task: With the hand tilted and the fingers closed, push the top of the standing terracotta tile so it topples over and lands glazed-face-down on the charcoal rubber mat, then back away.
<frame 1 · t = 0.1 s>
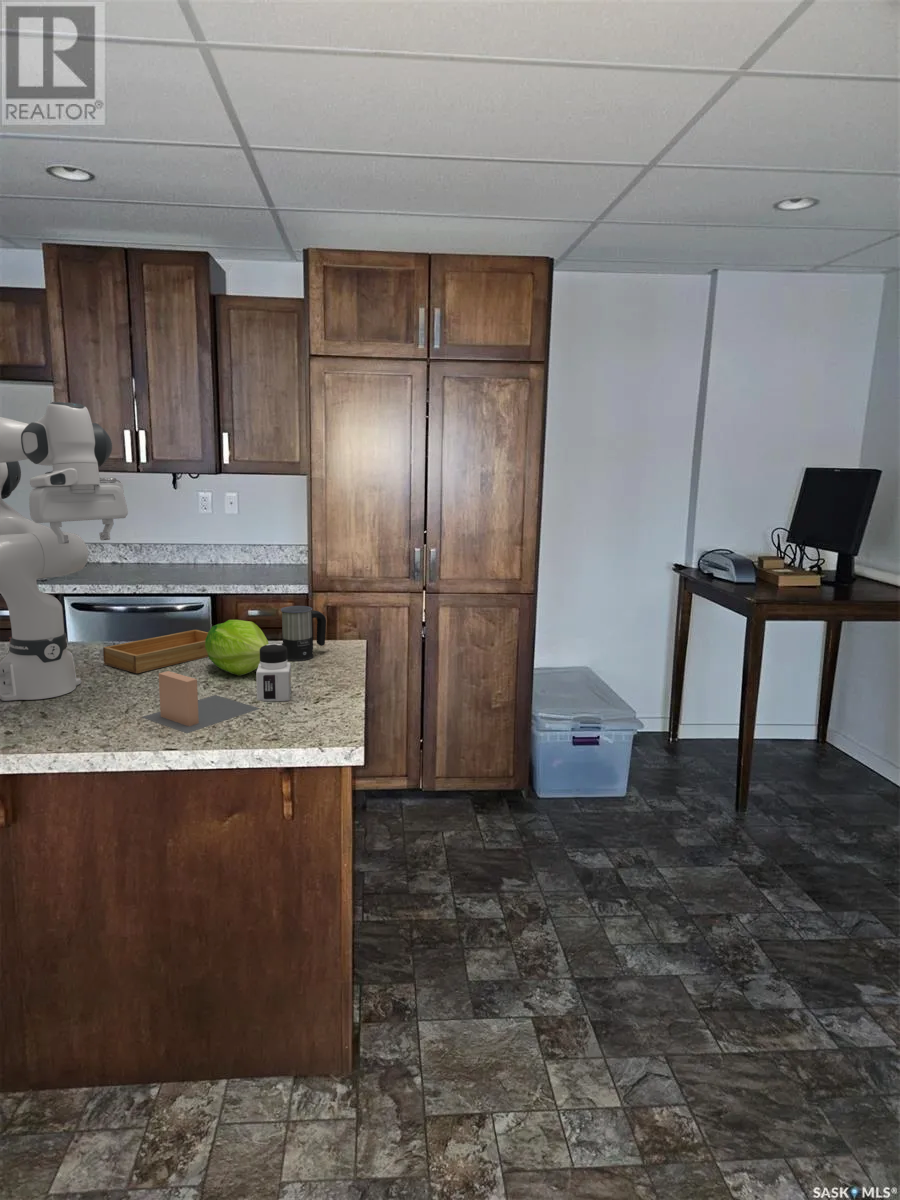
hand: (85, 541, 160), 39 cm above the countertop, fingers open, 8 cm apart
lettuce: (238, 672, 201), on the countertop
milk frother: (295, 654, 221), on the countertop
container: (274, 697, 181), on the countertop
mat: (202, 714, 167), on the countertop
tile: (179, 719, 162), resting on mat
tray: (168, 660, 212), on the countertop
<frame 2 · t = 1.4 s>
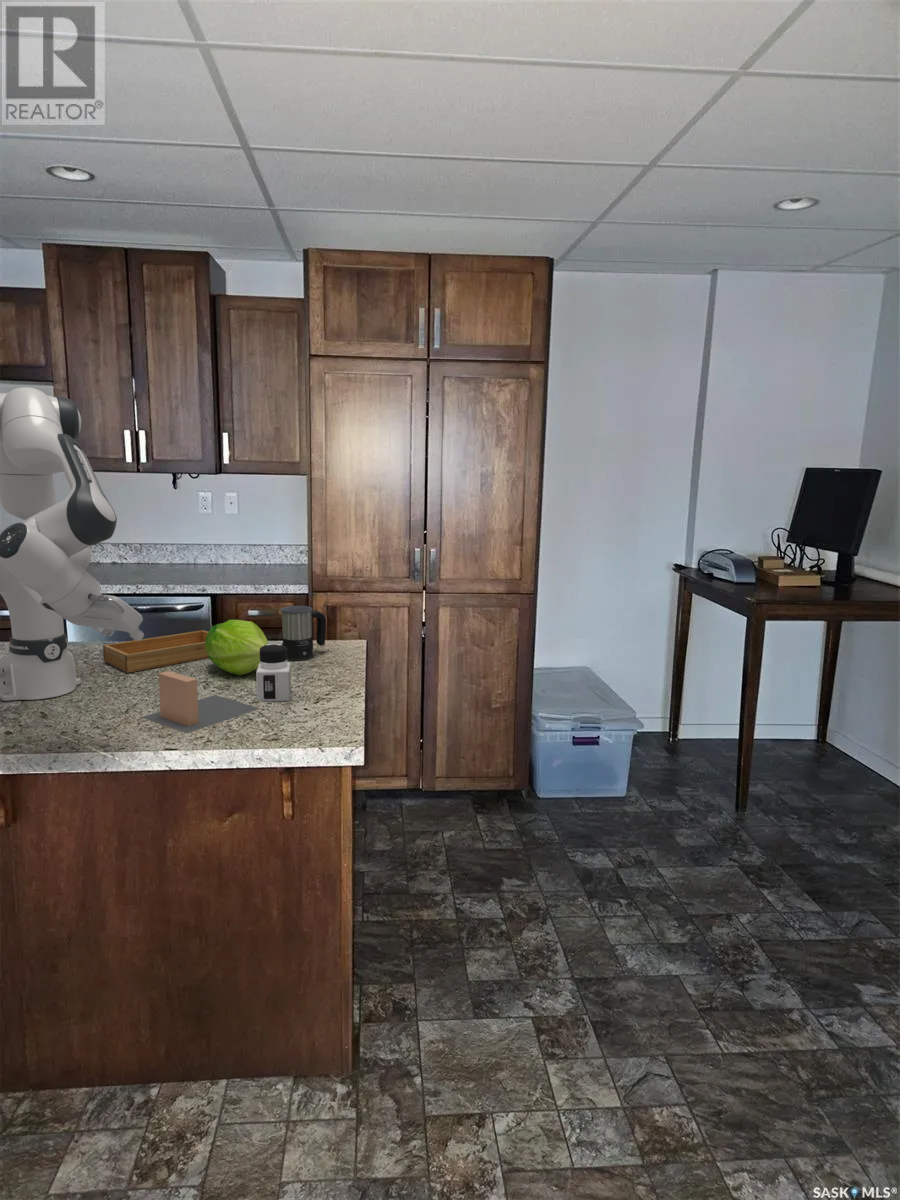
hand: (125, 635, 148), 22 cm above the countertop, fingers open, 8 cm apart
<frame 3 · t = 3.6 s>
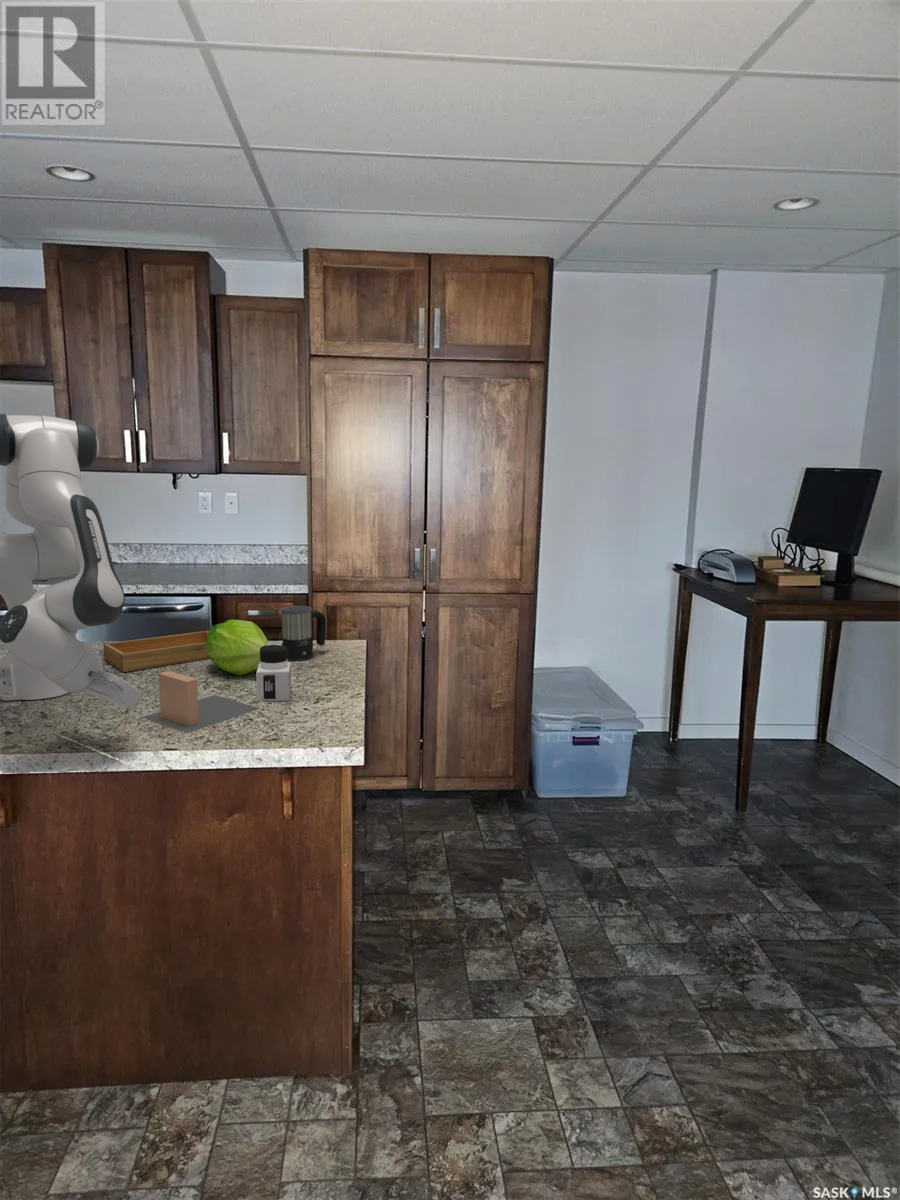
hand: (126, 704, 150), 7 cm above the countertop, fingers closed
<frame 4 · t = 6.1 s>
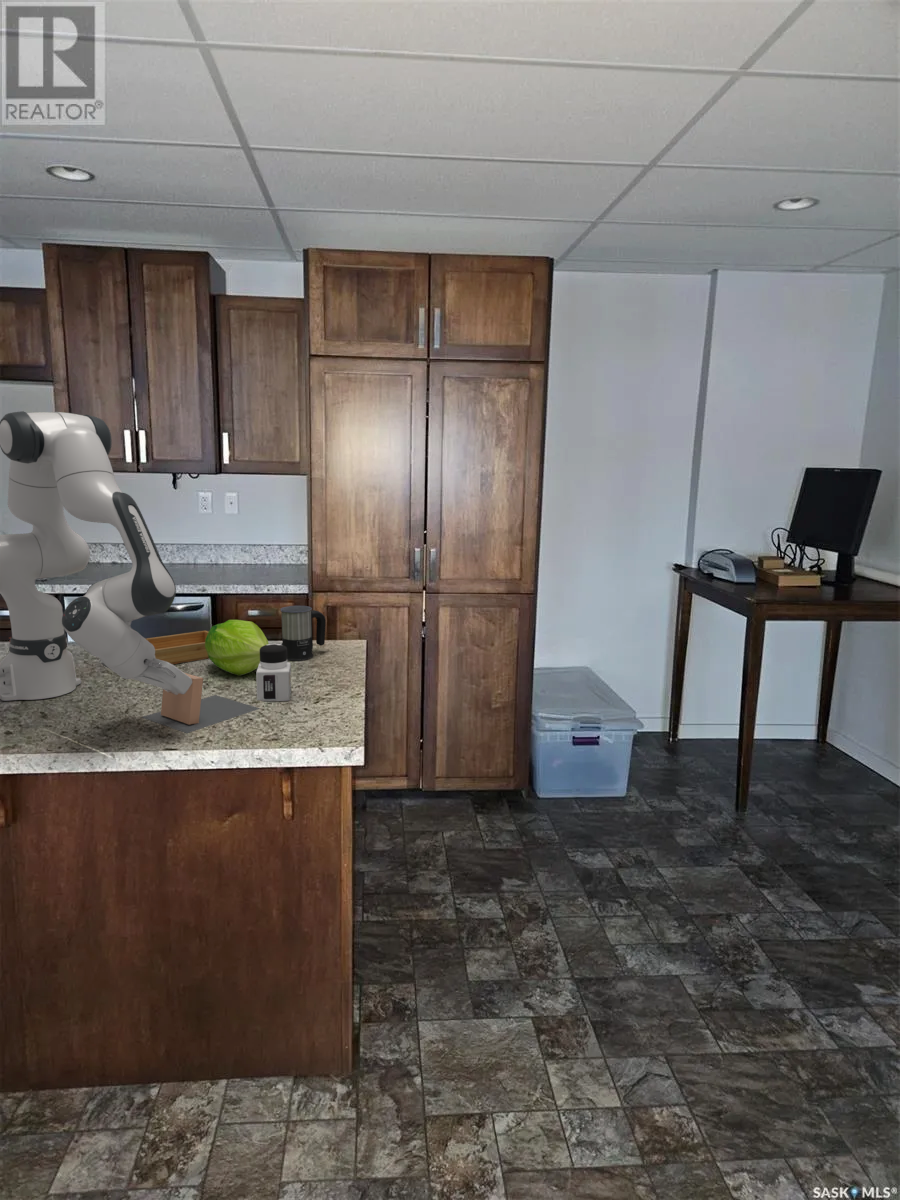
hand: (175, 690, 160), 7 cm above the countertop, fingers closed
tile: (179, 718, 162), point 1 cm above the countertop, tilted 9°, touching mat
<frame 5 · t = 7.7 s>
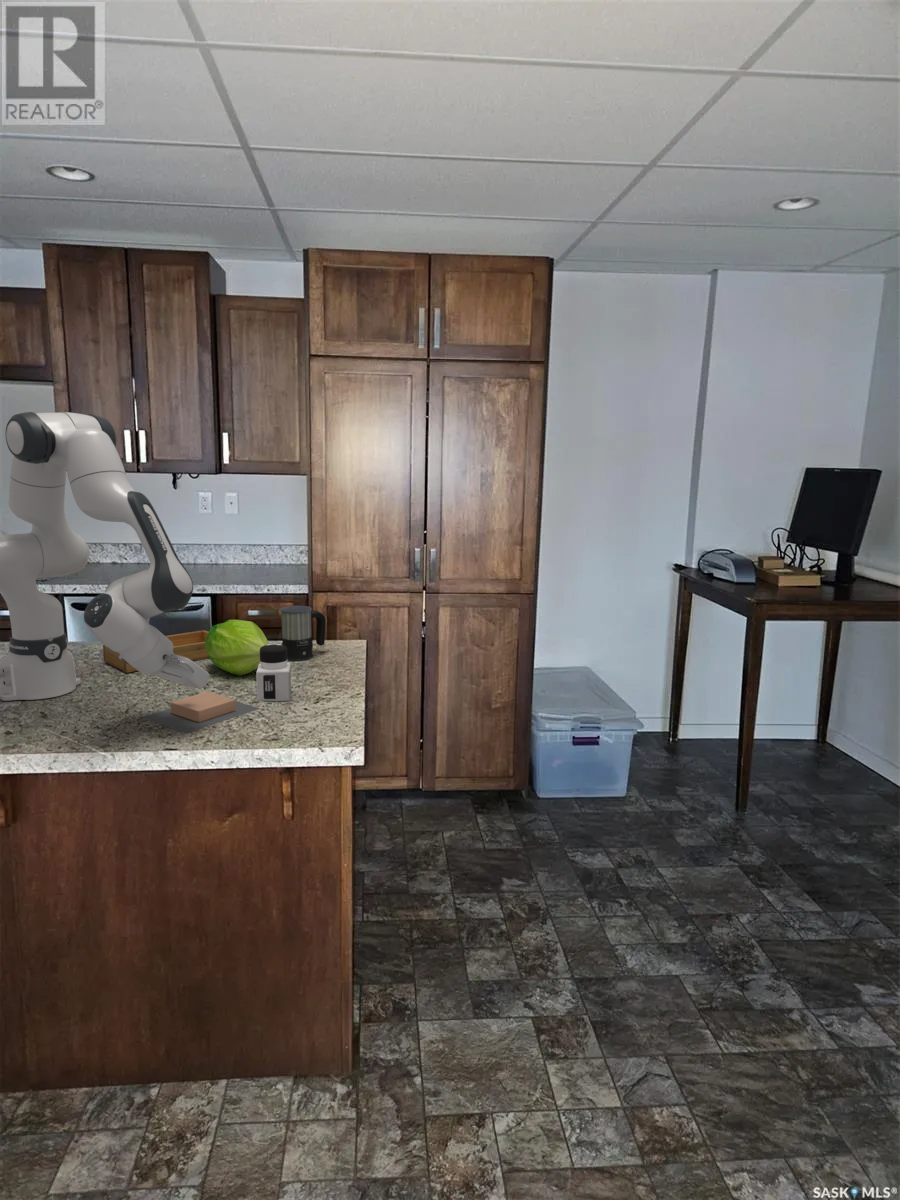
hand: (192, 686, 163), 7 cm above the countertop, fingers closed
tile: (184, 712, 162), point 2 cm above the countertop, tilted 90°, touching mat
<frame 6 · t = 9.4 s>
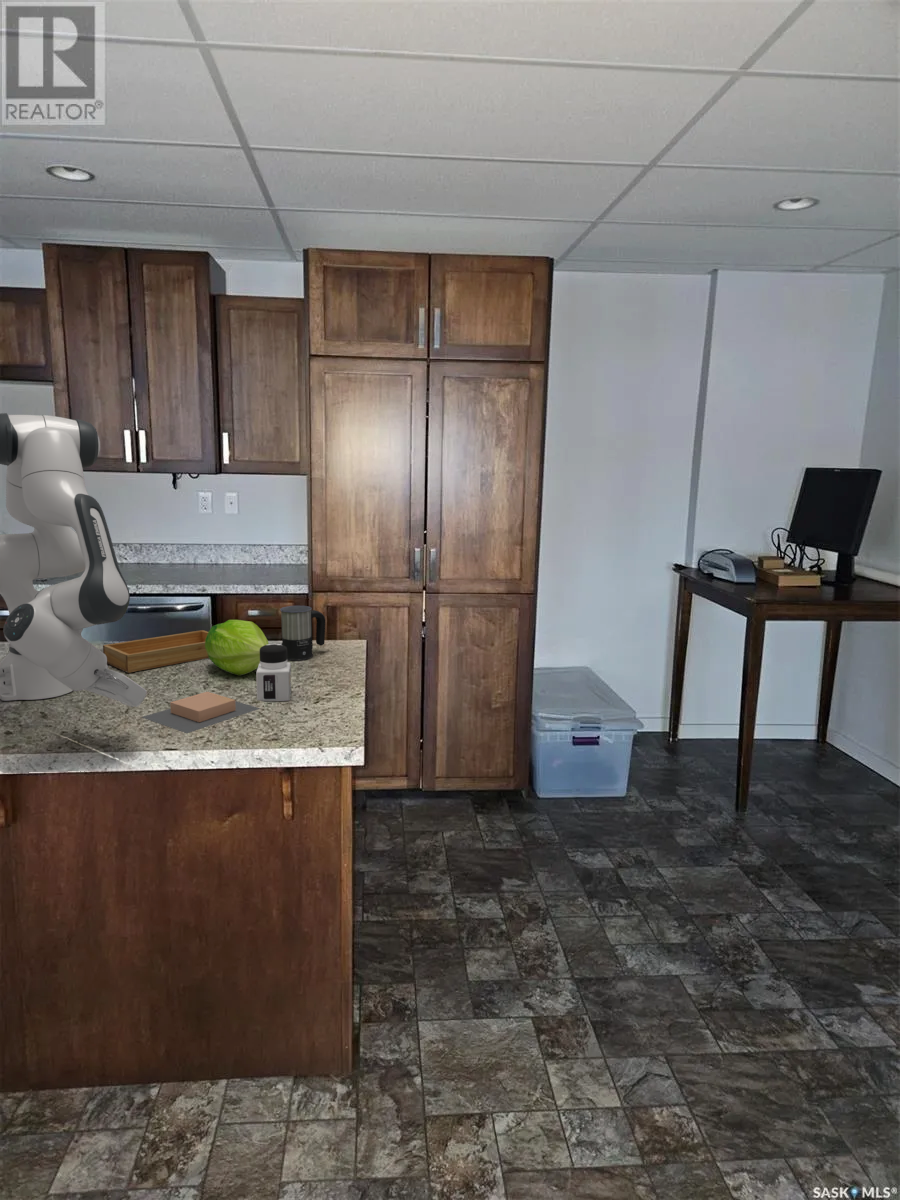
hand: (131, 702, 151), 8 cm above the countertop, fingers closed
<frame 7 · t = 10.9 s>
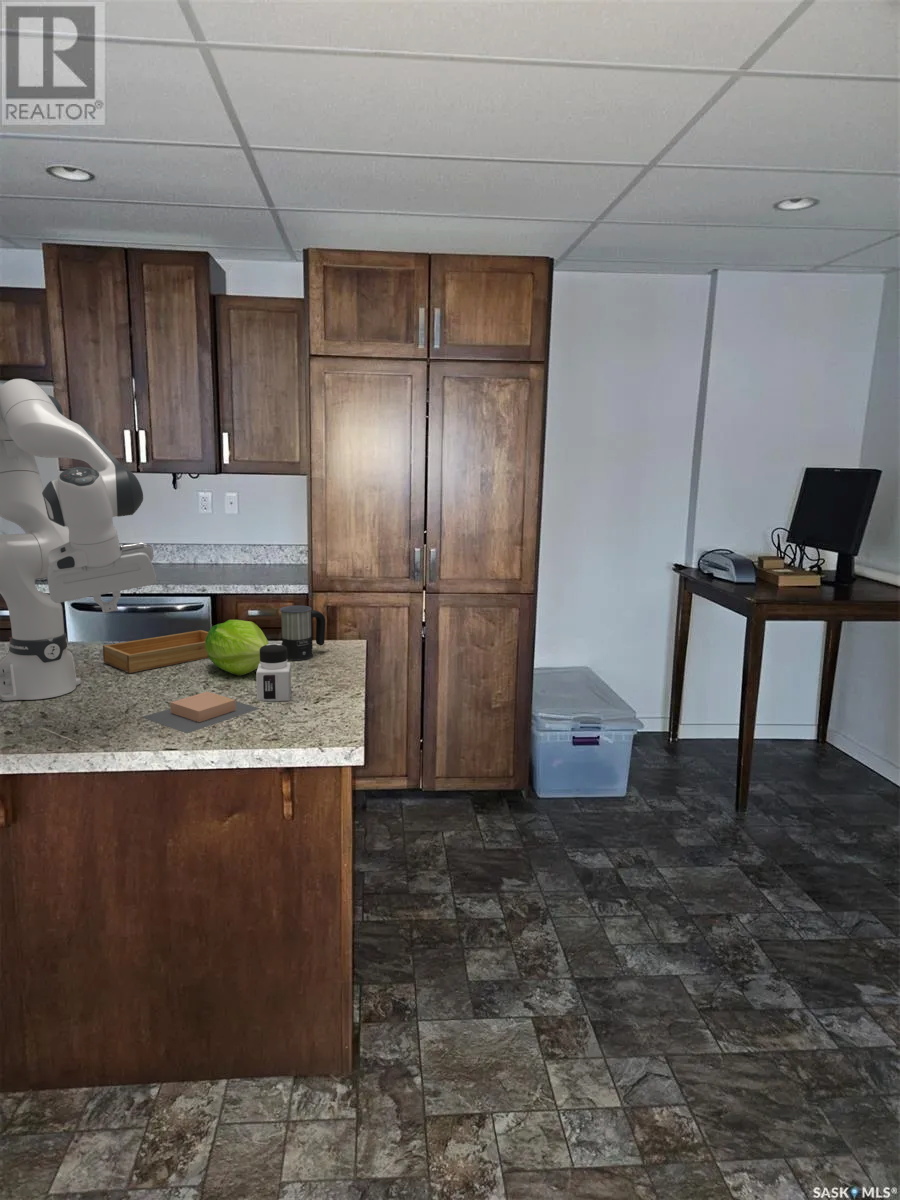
hand: (110, 610, 153), 26 cm above the countertop, fingers closed
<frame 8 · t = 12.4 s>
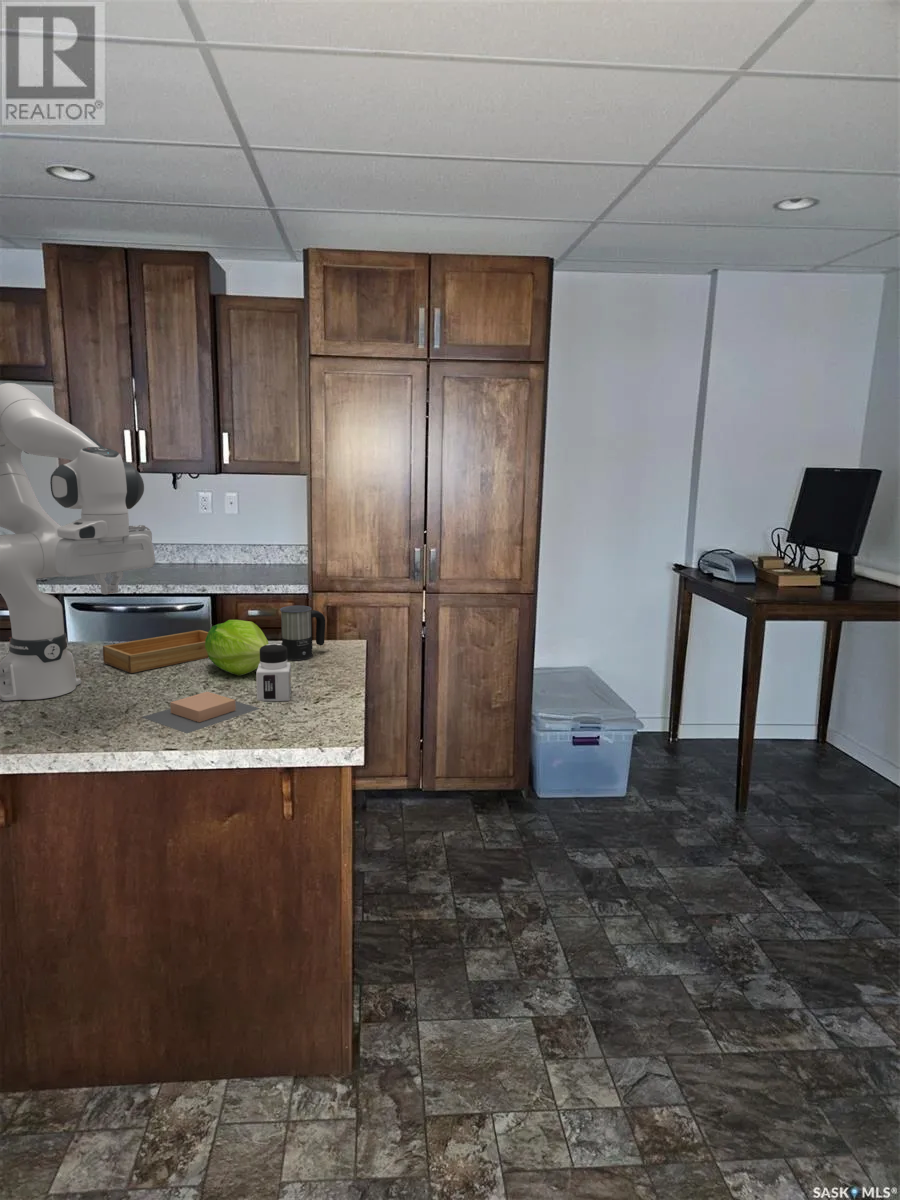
hand: (109, 593, 154), 29 cm above the countertop, fingers closed
nothing on the countertop moved.
at the end: tile tilted 90°; tile inside the target area on the mat (6.1 cm from its centre), point 1.9 cm above the mat's base; the gripper is holding nothing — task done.
